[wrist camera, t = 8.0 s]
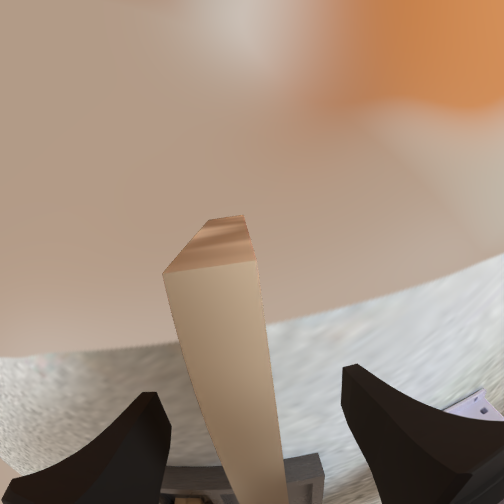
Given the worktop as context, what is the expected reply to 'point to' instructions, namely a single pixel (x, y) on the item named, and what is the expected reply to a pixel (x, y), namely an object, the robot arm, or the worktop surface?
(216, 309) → the birch sheet
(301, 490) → the rack
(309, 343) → the worktop surface
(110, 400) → the worktop surface
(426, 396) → the worktop surface
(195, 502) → the oak offcuts
